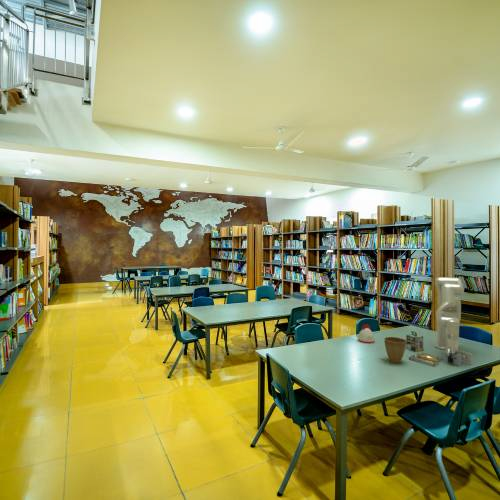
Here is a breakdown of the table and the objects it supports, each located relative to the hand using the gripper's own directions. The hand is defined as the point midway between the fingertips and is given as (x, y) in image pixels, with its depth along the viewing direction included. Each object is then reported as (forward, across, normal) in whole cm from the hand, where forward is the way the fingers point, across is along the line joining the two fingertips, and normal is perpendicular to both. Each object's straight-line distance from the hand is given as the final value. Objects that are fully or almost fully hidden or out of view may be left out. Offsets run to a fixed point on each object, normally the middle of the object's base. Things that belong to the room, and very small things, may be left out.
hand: (452, 361), depth 227 cm
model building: (+1, -9, -31) cm, 32 cm away
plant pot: (+1, +29, -27) cm, 40 cm away
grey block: (+1, 0, 0) cm, 1 cm away
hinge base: (+1, +8, -14) cm, 16 cm away
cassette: (+2, -9, +4) cm, 10 cm away
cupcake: (+1, +2, -68) cm, 68 cm away
